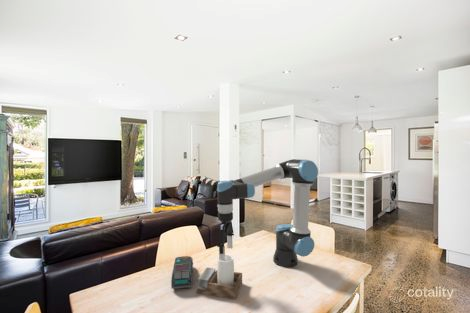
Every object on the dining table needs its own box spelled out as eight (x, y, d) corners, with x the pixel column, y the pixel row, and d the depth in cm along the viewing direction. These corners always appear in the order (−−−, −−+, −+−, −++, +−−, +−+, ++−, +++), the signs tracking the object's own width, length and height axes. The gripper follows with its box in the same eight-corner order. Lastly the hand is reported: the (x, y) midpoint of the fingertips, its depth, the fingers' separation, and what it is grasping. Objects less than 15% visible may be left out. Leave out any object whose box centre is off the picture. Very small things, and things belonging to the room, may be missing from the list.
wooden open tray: (242, 283, 126) (242, 271, 126) (235, 299, 112) (235, 285, 112) (206, 278, 131) (206, 266, 131) (196, 292, 117) (196, 279, 117)
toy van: (193, 266, 144) (193, 250, 144) (192, 290, 120) (192, 270, 120) (175, 268, 143) (175, 251, 143) (170, 292, 118) (170, 272, 118)
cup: (215, 283, 123) (215, 256, 122) (230, 280, 126) (230, 253, 126) (220, 292, 115) (220, 263, 115) (236, 288, 118) (236, 260, 118)
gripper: (225, 205, 133) (226, 243, 133) (209, 218, 109) (210, 264, 109) (238, 206, 131) (239, 244, 132) (225, 219, 107) (226, 266, 107)
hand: (226, 253), depth 120 cm, fingers open, 13 cm apart
